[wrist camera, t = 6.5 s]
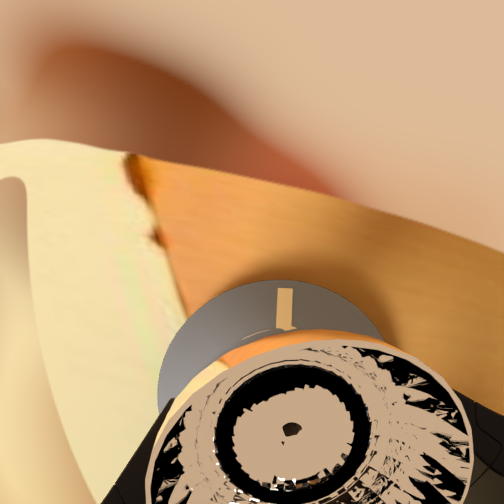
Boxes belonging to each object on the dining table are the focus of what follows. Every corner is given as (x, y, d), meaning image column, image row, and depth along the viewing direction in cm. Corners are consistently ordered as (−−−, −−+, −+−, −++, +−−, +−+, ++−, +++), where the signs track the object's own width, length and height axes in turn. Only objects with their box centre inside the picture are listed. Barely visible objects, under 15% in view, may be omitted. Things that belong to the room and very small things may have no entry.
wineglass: (350, 364, 15) (528, 337, 3) (317, 468, 13) (409, 619, 1) (241, 335, 15) (177, 243, 4) (207, 439, 13) (84, 565, 2)
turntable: (379, 493, 13) (384, 498, 12) (158, 486, 14) (153, 490, 13) (391, 286, 17) (396, 282, 17) (173, 277, 18) (169, 272, 17)
